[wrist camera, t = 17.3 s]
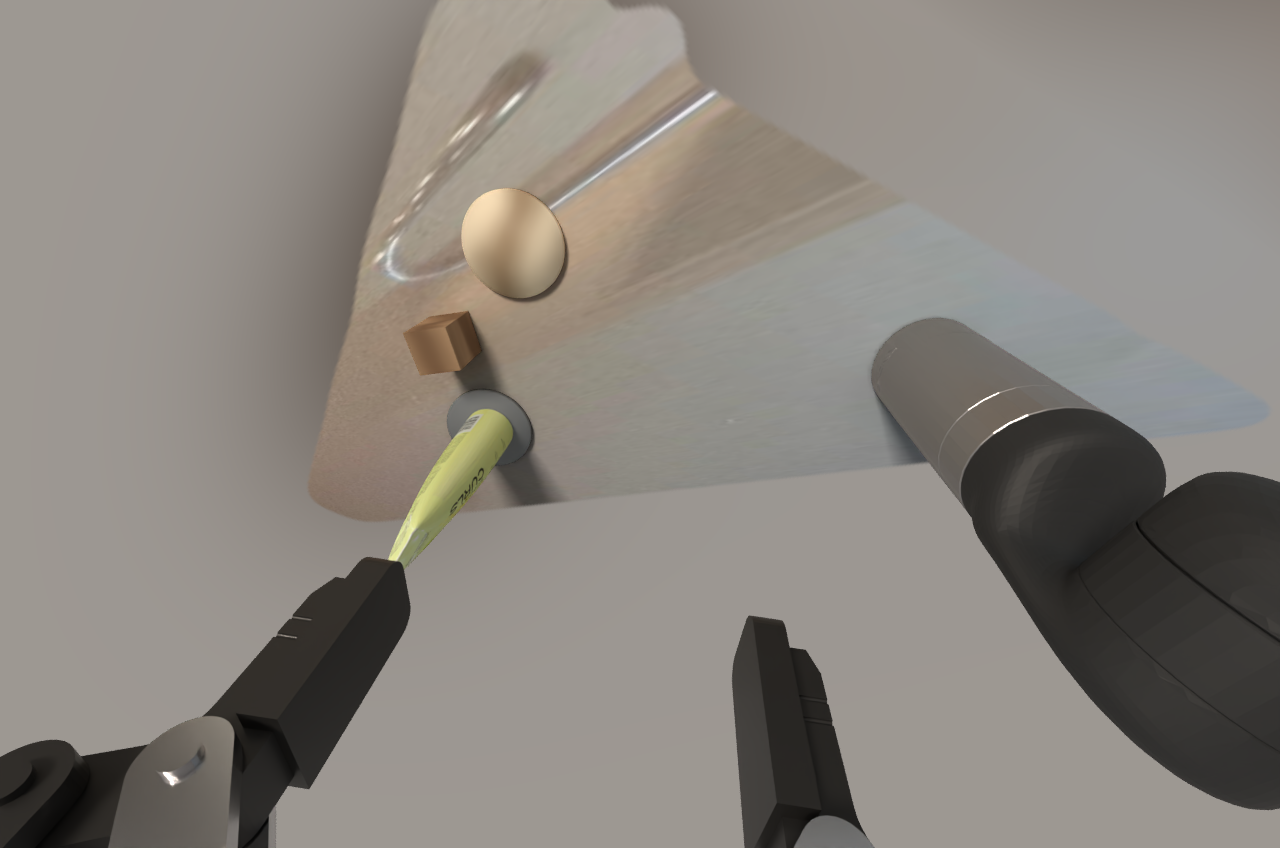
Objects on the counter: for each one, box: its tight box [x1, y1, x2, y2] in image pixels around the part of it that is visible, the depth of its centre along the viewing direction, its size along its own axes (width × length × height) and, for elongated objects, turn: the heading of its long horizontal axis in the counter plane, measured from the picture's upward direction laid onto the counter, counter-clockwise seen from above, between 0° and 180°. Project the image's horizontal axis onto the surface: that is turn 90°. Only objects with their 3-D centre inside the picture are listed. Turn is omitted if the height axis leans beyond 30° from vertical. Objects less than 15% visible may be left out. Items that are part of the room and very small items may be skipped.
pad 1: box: [461, 188, 565, 298], centre depth 42 cm, size 9×9×1 cm
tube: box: [388, 409, 513, 569], centre depth 43 cm, size 6×5×20 cm
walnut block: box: [403, 311, 482, 375], centre depth 45 cm, size 4×4×5 cm
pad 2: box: [447, 389, 532, 465], centre depth 52 cm, size 9×9×1 cm
